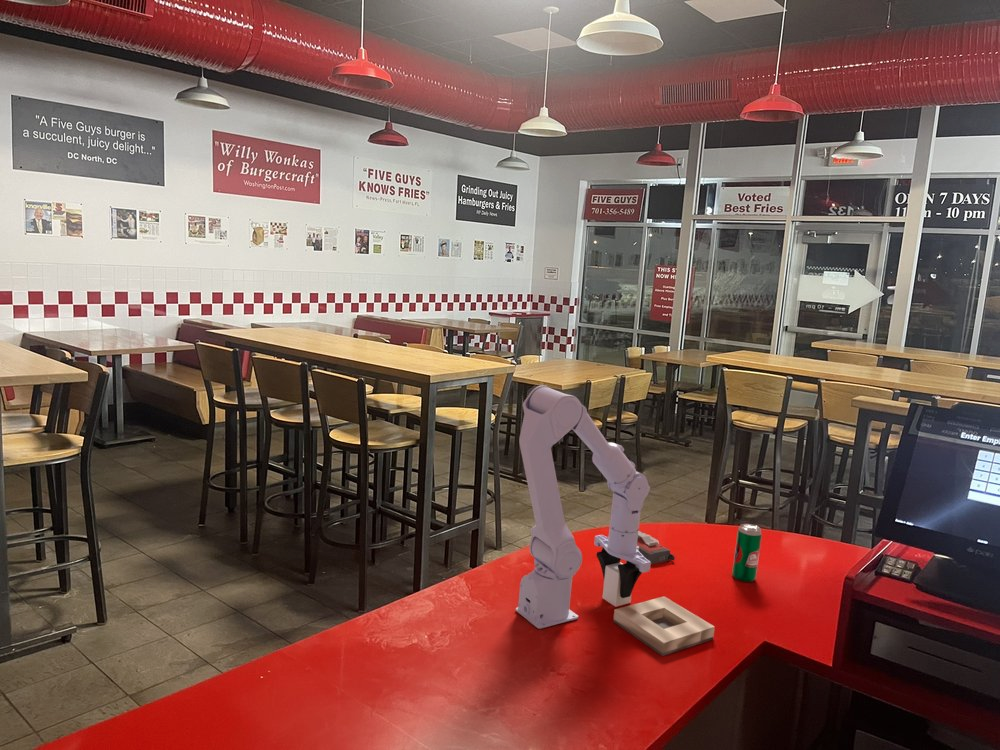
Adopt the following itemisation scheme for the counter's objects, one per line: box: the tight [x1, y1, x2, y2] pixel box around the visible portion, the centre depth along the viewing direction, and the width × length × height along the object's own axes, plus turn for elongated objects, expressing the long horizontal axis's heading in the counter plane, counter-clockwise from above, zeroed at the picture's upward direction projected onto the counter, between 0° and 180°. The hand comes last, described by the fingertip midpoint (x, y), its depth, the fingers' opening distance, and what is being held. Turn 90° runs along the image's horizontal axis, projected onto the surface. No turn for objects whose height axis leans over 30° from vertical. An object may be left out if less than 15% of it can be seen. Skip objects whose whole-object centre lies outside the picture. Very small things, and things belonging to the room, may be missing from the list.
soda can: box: [731, 523, 763, 583], centre depth 160 cm, size 5×5×12 cm
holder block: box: [613, 596, 715, 657], centre depth 135 cm, size 13×13×2 cm
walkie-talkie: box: [637, 530, 676, 565], centre depth 174 cm, size 9×4×20 cm
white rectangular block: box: [602, 561, 633, 607], centre depth 145 cm, size 4×4×7 cm
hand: (617, 591), depth 146 cm, fingers open, 4 cm apart
